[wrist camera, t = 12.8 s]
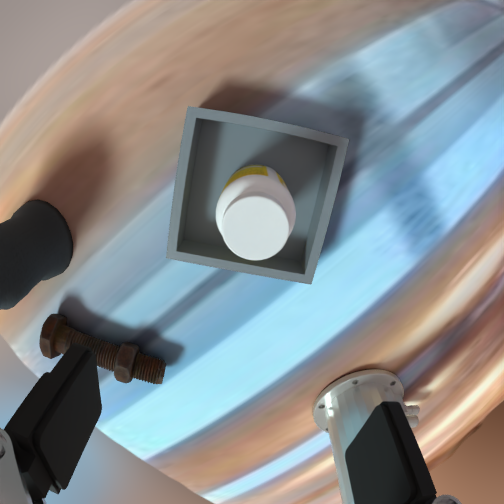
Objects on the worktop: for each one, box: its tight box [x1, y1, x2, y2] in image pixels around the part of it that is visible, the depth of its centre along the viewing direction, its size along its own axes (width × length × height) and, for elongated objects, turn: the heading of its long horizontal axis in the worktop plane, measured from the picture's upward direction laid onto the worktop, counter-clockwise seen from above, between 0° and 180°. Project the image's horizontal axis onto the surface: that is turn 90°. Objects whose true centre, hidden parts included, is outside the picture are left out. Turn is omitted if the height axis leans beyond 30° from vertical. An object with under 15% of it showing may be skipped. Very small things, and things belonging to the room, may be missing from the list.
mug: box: [0, 200, 73, 310], centre depth 25 cm, size 12×9×11 cm
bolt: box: [40, 314, 166, 384], centre depth 33 cm, size 6×5×15 cm
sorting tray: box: [166, 106, 349, 284], centre depth 26 cm, size 13×13×4 cm
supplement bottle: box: [216, 164, 296, 260], centre depth 23 cm, size 5×5×10 cm
